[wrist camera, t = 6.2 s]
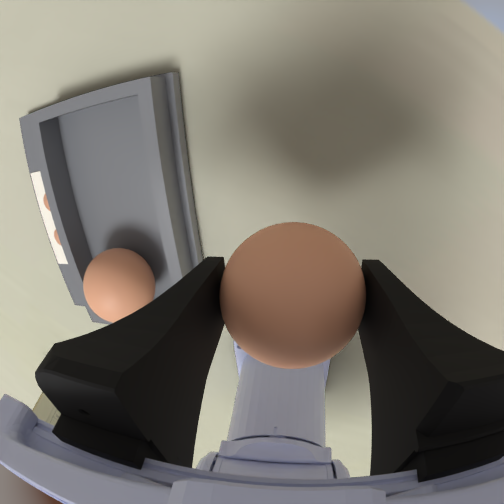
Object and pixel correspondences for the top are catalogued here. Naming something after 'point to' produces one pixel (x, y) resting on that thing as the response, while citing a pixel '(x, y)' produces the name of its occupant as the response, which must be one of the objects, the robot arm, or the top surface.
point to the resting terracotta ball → (118, 284)
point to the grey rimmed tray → (115, 180)
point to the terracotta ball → (292, 295)
